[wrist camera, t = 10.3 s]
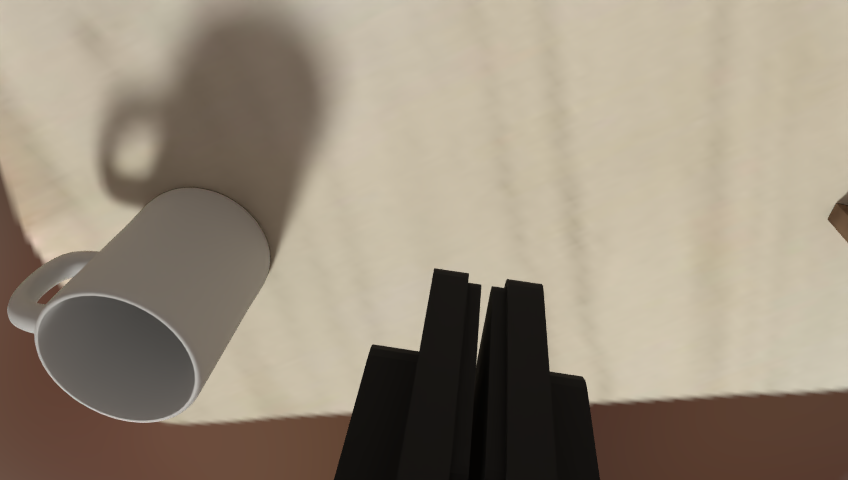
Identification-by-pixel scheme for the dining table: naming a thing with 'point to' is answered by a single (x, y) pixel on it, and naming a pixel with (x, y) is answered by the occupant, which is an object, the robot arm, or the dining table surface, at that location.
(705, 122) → the dining table surface
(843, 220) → the box
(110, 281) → the mug
